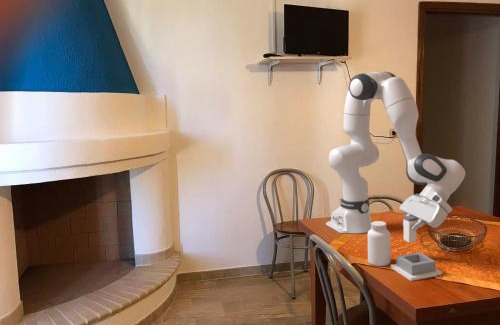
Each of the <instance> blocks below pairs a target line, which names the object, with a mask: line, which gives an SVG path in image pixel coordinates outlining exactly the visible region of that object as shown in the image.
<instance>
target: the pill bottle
mask: <svg viewBox="0 0 500 325" xmlns="http://www.w3.org/2000/svg"><path fill="white" fill-rule="evenodd" d="M371 222H372V223H371V229H370V230H369V231H368V232H367V261H368V264H370V265H372V266H376V267H386V266H388V264H389V265H391V261H392V260H391V256H392V255H391V233H390V231H389V230H388V229H387V223H386V222H385V221H383V220H382V221H381V220H380V221H379V220H376V221H375V220H374V221H371Z"/></svg>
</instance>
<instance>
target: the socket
mask: <svg viewBox="0 0 500 325" xmlns="http://www.w3.org/2000/svg"><path fill="white" fill-rule="evenodd" d="M436 266H437V265H436V260H434V259H432V257H431V258H430V257H429V256H427V255H425V254H423V253H422V252H420V251H419V252H412V253H408V254H401V255H396V263H392V264H390V268H391V269H392V270H393V271H395V272H396V273H399V274H400V275H401V276H402V277H404V278H406V279H407V280H409V281H410V282H413V281H418V280H423V279H427V278H433V277H438V276H437V275H439V274H443V271H442V270H440V269H439V268H436ZM443 275H444V274H443Z"/></svg>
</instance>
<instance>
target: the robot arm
mask: <svg viewBox="0 0 500 325" xmlns="http://www.w3.org/2000/svg"><path fill="white" fill-rule="evenodd" d="M375 100H381V101H382V103H383V106H384V109H385V111H386V114H387V116H388V118H389V120H390V122H391V124H392V127H393V129H394V131H395V133H396V135H397V137H398V140H399V144H400V146H401V150H402V152H403V155H404V158H405V162H406V163H405V164H406V167H405V173H406V177H407V178H408V180H409V181H410V182H412V184H415V185H419V186H421V185H426V186H425V187H424V188H423V190H422V191H421V192H420V193H415V194H412V195H410V196H408V197H407V198H406V199H405V200H404V201H403V202H402V204H401V205H400V206H399V211H400V212H402V214H404V215H405V216H409V215H411V216H413V217H416V224H415V225H412V226H411V227H410V229H411V230H413V231H416V232H417V230H418V229H420V228H422V227H423V226H424V225H428V226H430V227H432V228H434V229H436V228H439V227H440V226H441V225H442V224H443V223H444V222H445V221H446V219H447V217H448V214H450V213H451V212H452V211H453V208H452V207H451V206H450V204H449V203H447V202H448V200H449V198H450V196H451V195H452V194H453V193H454V192H455V191H456V190H457V189H458V188H459V186H460V185H461V184H462V182H463V180H464V179H465V176H466V171H465V168H464V167H463V165H462V164H461V163H460V162H458V161H457V160H455V159H446V158H442V157H439V156H435V155H434V154H431V153H422V150H421V147H420V145H419V141H418V139H417V135H416V131H417V130H416V128H417V123H418V120H419V116H420V115H419V111H418V106H417V105H418V104H417V103H416V100H415V98H414V96H413V93H412V92H411V89H410V88H409V86H408V85H407V82H406V81H405V79H403V78H402V77H399V76H396V75H395V73H392V72H389V71H372V72H366V73H358V74H357V75H356V74H355V75H354V76H353V77H352V78H351V79H350V81H349V84H348V90H347V93H346V96H345V101H344V108H343V122H342V130H343V132H344V133H345V134H346V135H348V136H349V138H350V139H349V140H350V144H346V145H345V144H344V145H340V146H338V147H335V148H333V149H331V150H330V152H329V154H328V164H329V166H330V168H331V169H332V170H334V171H335V172H336V173H337V174H338V176H339V178H340V181H341V187H342V198H339V199H338V200H339V202H340V206H338V207H337V208H336V209H334V210H333V211H332V212H331V214H330V215H331V216H330V220H328V221H327V222H326V223H325V225H326V226H328V227H329V228H331V229H333V230H335V231H336V232H337V233H340V234H365V233H368V231H369V230H370V229H371V223H372V222H373V221H372V217H371V216H372V214H371V210H370V198H369V190H368V189H369V186H368V185H369V183H368V181H367V180H366V179H365V177H363V176H361V174H360V173H361V172H360V170H359V168H363V167H368V166H371V165H373V164H375V163H376V162H377V161H378V160H379V157H380V150H379V147H378V146H377V145H376V144H375V143H374V142H373V140H372V136H371V133H370V121H371V105H372V102H373V101H375ZM401 225H402V226H403V227H404V222H402V224H401Z"/></svg>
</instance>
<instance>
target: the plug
mask: <svg viewBox="0 0 500 325" xmlns="http://www.w3.org/2000/svg"><path fill="white" fill-rule="evenodd" d="M402 219H403V222H404V226H403V241H405V242H407V243H415V242H417V230H416V231H413V230H411V229H410V227H411V226H412V225H415V224H416V223H417V219H416V217H413V216H411V215H409V216H406V215H404V216H403V218H402ZM403 222H402V223H403Z"/></svg>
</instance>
